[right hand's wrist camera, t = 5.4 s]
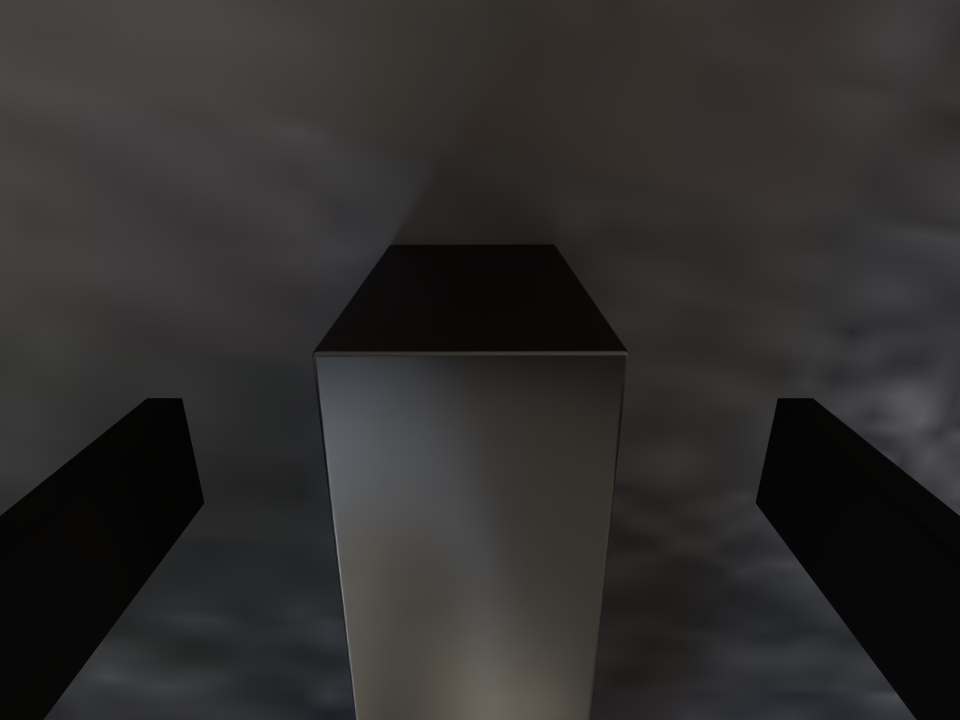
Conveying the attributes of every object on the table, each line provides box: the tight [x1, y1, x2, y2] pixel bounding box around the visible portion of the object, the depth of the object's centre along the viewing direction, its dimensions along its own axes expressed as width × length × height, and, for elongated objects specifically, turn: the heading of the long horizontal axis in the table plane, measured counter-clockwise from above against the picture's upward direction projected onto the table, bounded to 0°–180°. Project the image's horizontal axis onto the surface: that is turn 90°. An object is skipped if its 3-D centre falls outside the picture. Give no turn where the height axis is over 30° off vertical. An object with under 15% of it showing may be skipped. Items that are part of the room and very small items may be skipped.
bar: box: [312, 245, 628, 720], centre depth 18 cm, size 27×5×9 cm, turn 0°
